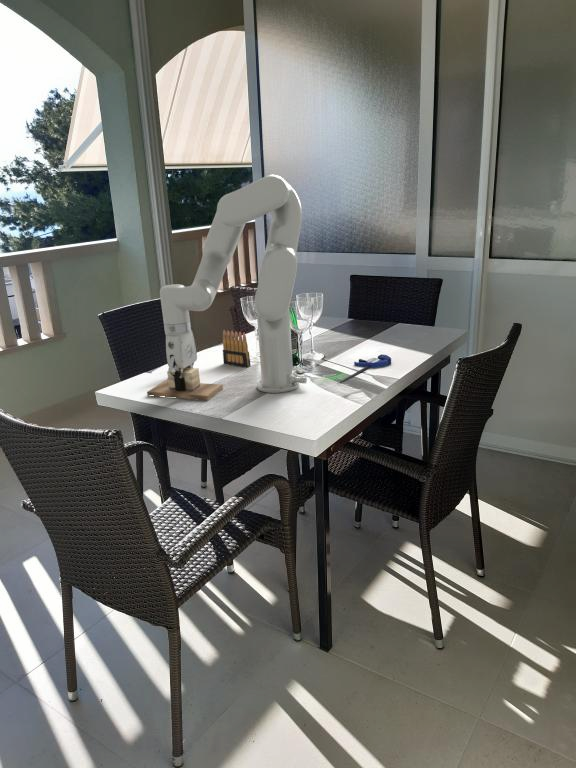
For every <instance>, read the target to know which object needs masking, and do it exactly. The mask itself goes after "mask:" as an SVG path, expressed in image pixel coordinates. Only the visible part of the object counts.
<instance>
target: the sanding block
mask: <svg viewBox="0 0 576 768" xmlns="http://www.w3.org/2000/svg"><path fill="white" fill-rule="evenodd" d="M176 371H178V372H179V370H176ZM199 371H200V369H199V367H193V368H184V369H183V377H184V378H185V386H186V390H190V391H194V390H195V389H197V388H198V387H199V386H200V383H201V380H200V372H199ZM166 373H167V381H168V382H169V389H175V382H174V378H173V376H172V374H170V373H169V372H168V370H167V371H166ZM175 390H176V389H175Z"/></svg>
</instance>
